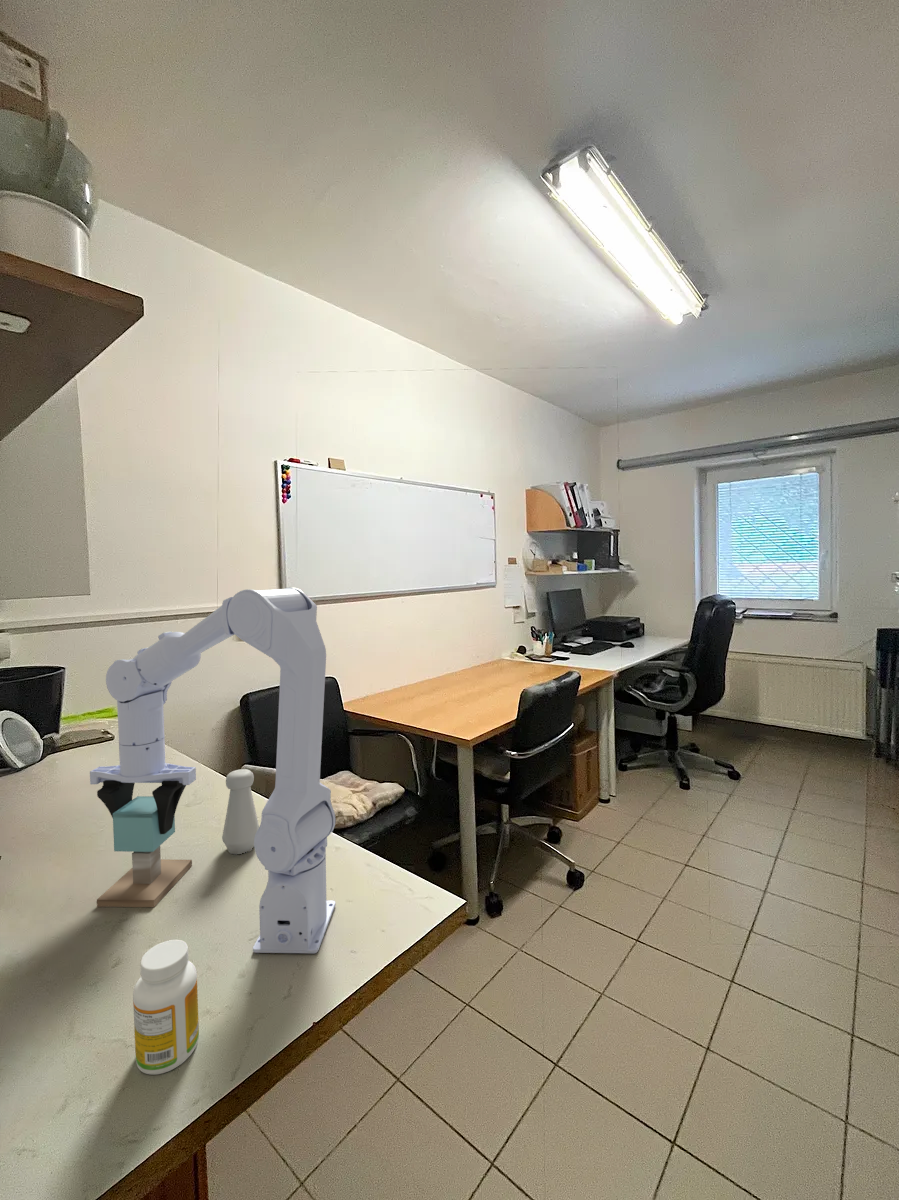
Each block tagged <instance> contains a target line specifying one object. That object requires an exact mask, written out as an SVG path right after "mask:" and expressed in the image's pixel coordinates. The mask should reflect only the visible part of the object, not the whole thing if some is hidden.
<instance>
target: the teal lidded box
mask: <svg viewBox="0 0 899 1200" xmlns="http://www.w3.org/2000/svg"><path fill="white" fill-rule="evenodd" d="M175 815H176V814H175ZM175 815H174V820H173V825H172V828H171V829H170V830H169V831H168V832H167V833H166V834H160V831H159V824H158V810H157V806H156V802H155V799H154V797H153V795H152V796H149V795H147V796H146V795H145V796H144V795H143V796H142V795H140V796H139V795H137V796H136V797H134V798H132V800H131V801H130V802H129V803H127V804H126V805H124V806H123V807H121V808H120V809H119V810H117V811H116V812H114V813H113V818H112V825H113V827H112V830H113V851H114V852H125V853H126V852H129V853H131V852H132V853H133V852H154V851H155V850H156V849H157V848H158V847H159V846H160V847H161V845H163V843H165V842H166V841H167V840H168V839H169V838H170V837H171V836H172V835H173V834H175V833H176V823H175V821H176V820H175V819H176V818H175V817H176V816H175Z"/></svg>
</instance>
